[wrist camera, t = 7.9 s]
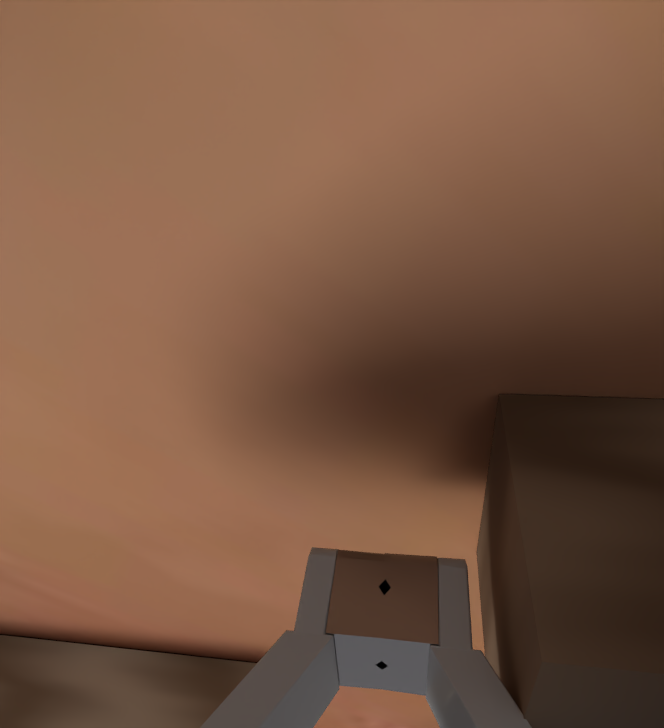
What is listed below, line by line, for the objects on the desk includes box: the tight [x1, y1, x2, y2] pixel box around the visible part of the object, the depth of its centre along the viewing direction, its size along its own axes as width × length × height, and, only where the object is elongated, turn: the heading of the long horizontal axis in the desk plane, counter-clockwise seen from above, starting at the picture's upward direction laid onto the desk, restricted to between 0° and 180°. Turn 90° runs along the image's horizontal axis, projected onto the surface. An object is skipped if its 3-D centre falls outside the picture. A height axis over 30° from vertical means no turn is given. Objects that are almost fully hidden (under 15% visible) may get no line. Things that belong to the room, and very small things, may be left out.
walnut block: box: [477, 394, 664, 728], centre depth 10 cm, size 5×5×5 cm
